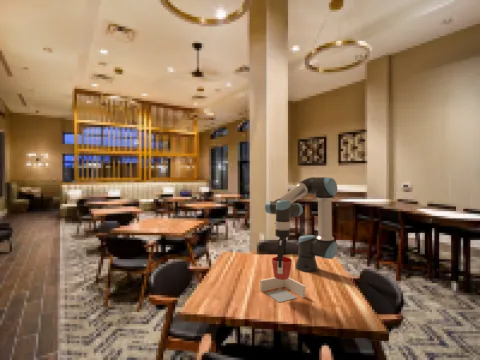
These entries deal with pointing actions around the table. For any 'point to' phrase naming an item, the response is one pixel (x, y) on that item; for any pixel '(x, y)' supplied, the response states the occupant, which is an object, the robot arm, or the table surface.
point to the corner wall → (282, 285)
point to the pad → (281, 295)
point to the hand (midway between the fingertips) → (281, 269)
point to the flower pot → (286, 268)
